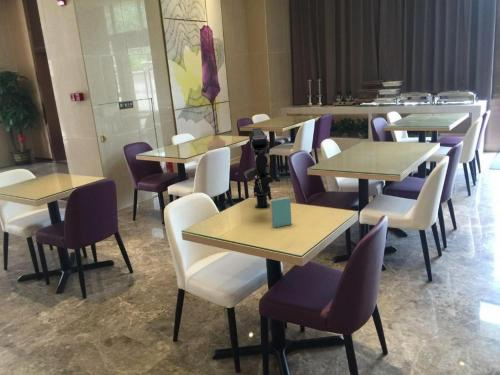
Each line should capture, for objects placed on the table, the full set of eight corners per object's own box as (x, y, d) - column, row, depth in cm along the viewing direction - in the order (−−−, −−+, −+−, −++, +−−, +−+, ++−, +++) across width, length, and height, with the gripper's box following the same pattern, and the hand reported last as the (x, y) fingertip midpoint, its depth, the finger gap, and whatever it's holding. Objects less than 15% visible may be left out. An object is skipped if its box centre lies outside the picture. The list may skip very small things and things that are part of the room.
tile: (271, 226, 201) (270, 199, 198) (290, 223, 203) (288, 196, 200) (273, 227, 199) (271, 201, 195) (291, 224, 201) (290, 198, 197)
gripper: (240, 161, 215) (242, 190, 219) (249, 168, 198) (252, 200, 202) (261, 158, 218) (263, 187, 222) (272, 165, 200) (274, 197, 204)
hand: (262, 193), depth 213 cm, fingers open, 3 cm apart
